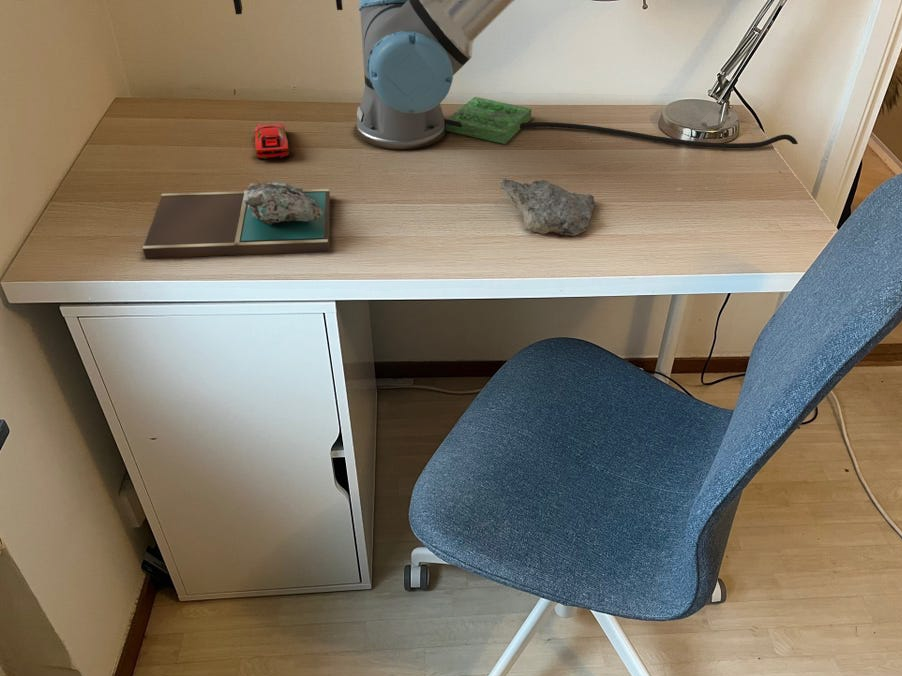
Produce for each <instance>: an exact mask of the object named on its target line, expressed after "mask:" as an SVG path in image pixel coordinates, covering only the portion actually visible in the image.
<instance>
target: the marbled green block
mask: <svg viewBox="0 0 902 676" xmlns="http://www.w3.org/2000/svg"><path fill="white" fill-rule="evenodd" d="M447 119H449V120H453V121H458V122H462V123H461V124H462V127H457V126H453V125H448V124H445V132H450V133H454V134H459V135H463V136H467V137H472V138H476V139H481V140H485V141H490V142H493V143H498V144H502V145H506V144H507V143H508V142H509V141H510V140H511V139H512V138H513V137H515V135H516V134H517V133H519V131H521V129H522V128H520V124H521V123H529V122H530V121H531V119H532V108H531V107H525V106H522V105H516V104H513V103H507V102H502V101H497V100H494V99H493V100H492V99H487V98H483V97H479V96H474V97H472V98H471V99H470V100H469V101H467V103H465V104H464V105H463V106H461V107H460V108H459V109H458V110H456V111H455V112H453V114H451V115H450V116H449V117H447Z"/></svg>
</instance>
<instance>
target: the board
mask: <svg viewBox="0 0 902 676" xmlns="http://www.w3.org/2000/svg"><path fill="white" fill-rule="evenodd" d="M302 190H303V194H304V195H306V196H308V197H309V198H310V199H312V200H314V201H315V204H316V206H319V208H321V210H322V212H323V214H322V216H321V218H320V219H315V220H312V221H296V220H292V221H281V222H275V223H273V224H265V223H264V221H260V220H259V219H257V218H255V217H253V212H252V211H251V210H250V209H249V208H248V205H247V204H245V203H244V196H245V195H244V191H245V190H242V191H239V190H238V191H213V192H212V191H211V192H209V191H206V192H174V193H172V192H171V193H161V194H160V196H161V197H160V199H159V202H158V204H157V208H156V210H155V214H154V217H153V219H152V222H151V224H150V228H149V230H148V233H147V235H146V239H145V241H144V244H143V246H142V251H143V254H144V258H145V259H167V258H198V257H220V256H251V255H275V254H299V253H324V252H325V253H329V252H330V227H331V226H330V221H331V220H330V219H331V193H330V188H315V189H309V188H308V189H302Z"/></svg>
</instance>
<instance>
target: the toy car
mask: <svg viewBox="0 0 902 676" xmlns="http://www.w3.org/2000/svg"><path fill="white" fill-rule="evenodd" d="M253 130H254V133H255V138H254V146H255V154H256V158H257V159H264V160H267V159H279V158H281V159H282V158H284V157H290V156H291V155H290V148H289V141H288V138H287V134H286V129H285V126H284V125H283V124H282V123H278V122H277V123H275V122H274V123H262V124H257V125H256V127H254V129H253Z"/></svg>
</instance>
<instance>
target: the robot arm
mask: <svg viewBox="0 0 902 676" xmlns="http://www.w3.org/2000/svg"><path fill="white" fill-rule="evenodd" d="M232 1H233V7H234V13H235V15H242V13H243V4H242V0H232ZM515 1H516V0H359V6H358V11H359V13H360V14H359V15H360V26H361V27H360V29H361V43H362V58H363V59H362V60H363V75H364V76H363V77H364V89H363V93H362V97H361V101H360V105H359V106H358V107H357V111H356V116H357V117H356V132H357V135H358V137H359V138H360V139H361V140H362V141H363V142H365V143H367V144H370V145H372V146H375V147H378V148H383V149H387V150H413V149H415V150H416V149H421V148H424V147H428V146H430V145H431V146H432V145H433V144H436V143H437V142H439V141H441V139H443V137H445V134H446V124H448V125H453V126H457V127H462V124H461V123H462V122H458V121H453V120H449V119H448V118H445V116H444V115H445V114H444V111H443V109H442V105H441V103H442V102H443V101H444V100H445V99H446V97H447V96H448V95H449V92H450V89H451V87H452V83H453V80H454V76H455V75H456V74H457V72H458V71H460V70H461V69H462V68H463V67H464V66H465V65H466V64H467V63H468V62H469V61H470V60H471V59H472V58H473V47H474V42H475V40H476V39H477V38H478V37H479V36H480V35H481V34H482V33H483V32H484V31H485V30H486V29H487V28H488V27H489V26H490V25H492V23H493V22H494V21H495V20H497V18H499V16H500V15H501V14H502V13H504V12H505V10H507V9H508V8H509V6H511V5H512V4H513V3H514V2H515ZM335 5H336V10H337V11H343V0H335ZM520 128H521V129H526V128H527V129H528V128H556V129H557V128H558V129H559V128H560V129H570V130H571V129H573V130H582V131H592V132H599V133H605V134H611V135H618V136H625V137H629V138H630V137H631V138H636V139H643V140H647V141H653V142H660V143H666V144H674V145H679V146H680V145H681V146H690V147H697V148H698V147H699V148H709V149H710V148H711V149H756V148H762V147H766V146H769V145H772V144H774V143H778V142H779V141H783V140H786V141H788V142H790V143H791V144H793V145H798V140H797V139H796V138H795V137H794V136H793V135H790V134H779V135H776V136H774V137H771V138H769V139H766V140H762V141H758V142H756V141H755V142H740V143H739V142H738V143H737V142H736V143H735V142H734V143H732V142H707V141H697V140H688V139H681V138H672V137H666V136H658V135H652V134H646V133H642V132H634V131H630V130H624V129H616V128H611V127H610V128H609V127H603V126H597V125H589V124H579V123H570V122H569V123H567V122H556V121H555V122H551V121H549V122H548V121H532V122H530V121H528V122H527V123H521V124H520Z"/></svg>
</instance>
